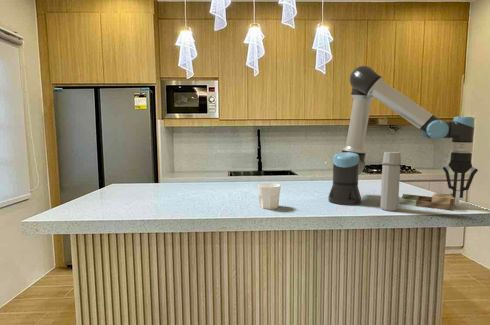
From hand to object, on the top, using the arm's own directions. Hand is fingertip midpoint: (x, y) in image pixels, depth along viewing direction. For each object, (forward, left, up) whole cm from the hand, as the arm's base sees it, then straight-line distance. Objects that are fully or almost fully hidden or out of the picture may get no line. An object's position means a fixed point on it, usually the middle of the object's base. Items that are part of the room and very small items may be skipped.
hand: (456, 204), depth 136 cm
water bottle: (-25, -19, -2) cm, 32 cm away
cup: (-70, -46, -2) cm, 84 cm away
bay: (-12, 0, -1) cm, 12 cm away
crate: (-5, 0, -2) cm, 5 cm away
